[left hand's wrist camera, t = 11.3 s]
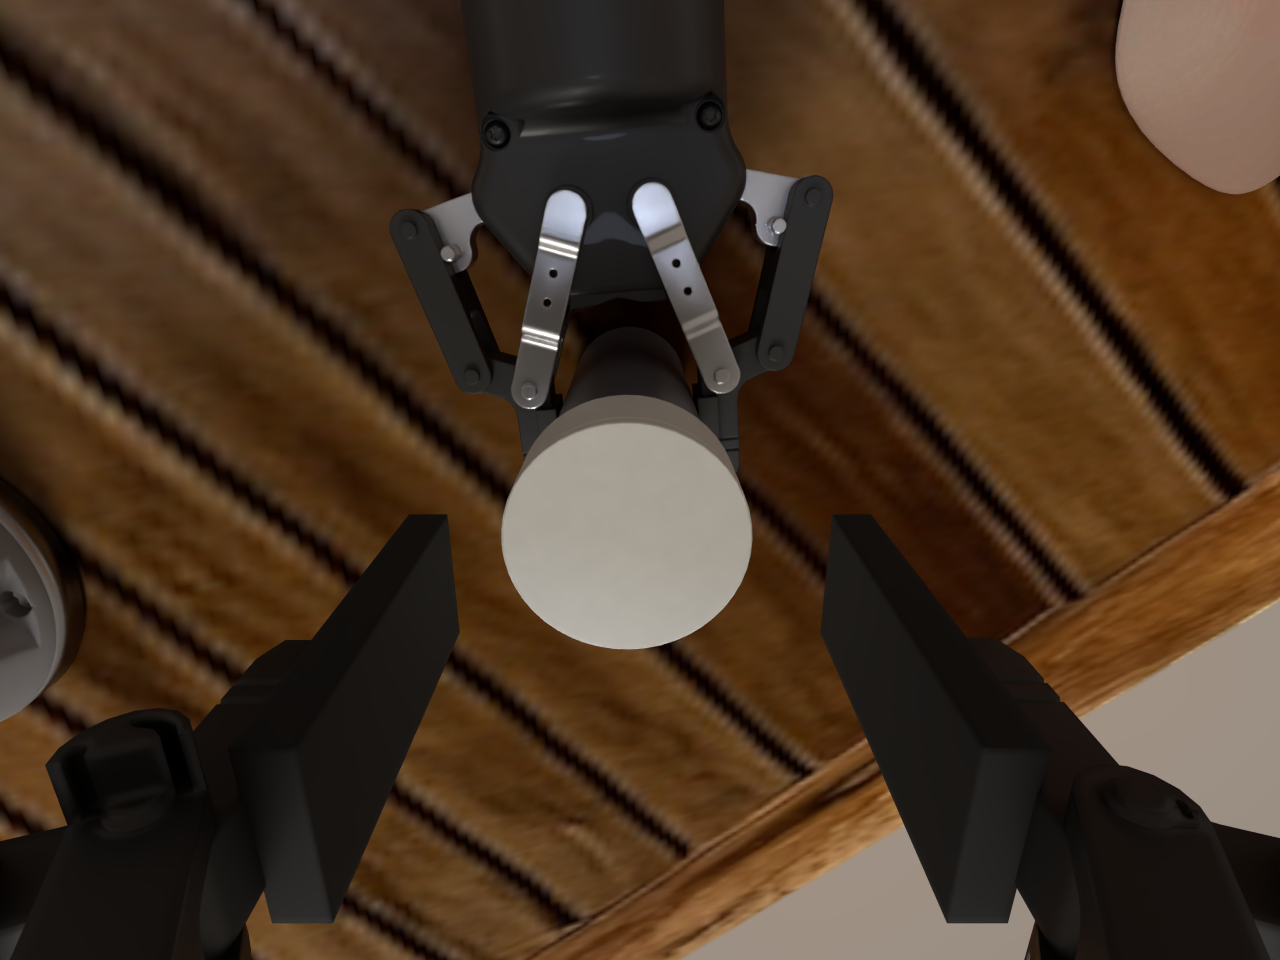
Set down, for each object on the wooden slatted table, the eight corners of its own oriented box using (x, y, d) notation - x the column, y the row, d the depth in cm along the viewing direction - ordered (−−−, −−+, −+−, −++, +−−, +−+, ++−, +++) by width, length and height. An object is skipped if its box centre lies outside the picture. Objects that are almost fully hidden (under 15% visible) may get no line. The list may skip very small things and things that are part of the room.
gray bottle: (553, 382, 31) (479, 538, 16) (627, 302, 30) (623, 390, 15) (631, 453, 32) (631, 659, 17) (705, 379, 31) (774, 531, 16)
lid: (472, 505, 18) (449, 547, 16) (623, 346, 17) (621, 366, 14) (631, 634, 19) (631, 690, 17) (782, 497, 18) (804, 539, 16)
